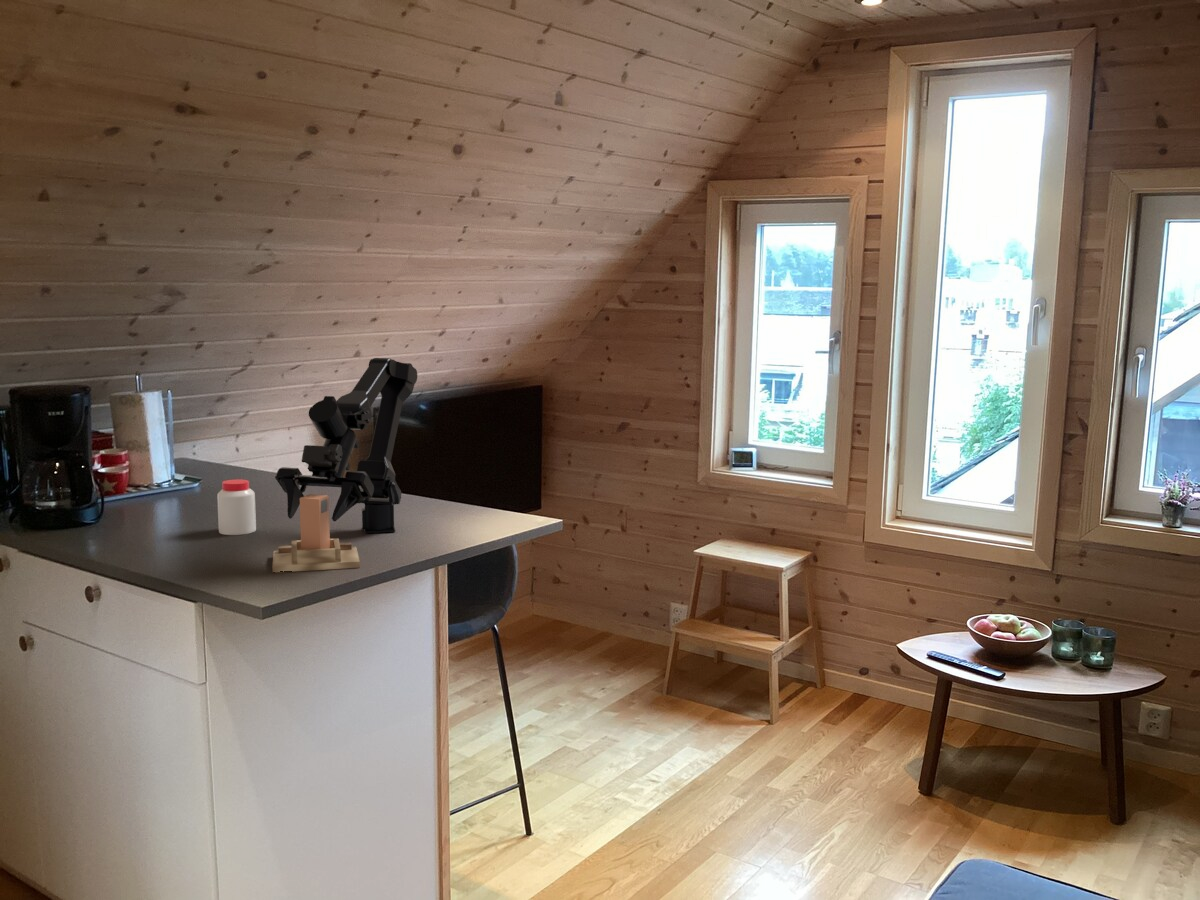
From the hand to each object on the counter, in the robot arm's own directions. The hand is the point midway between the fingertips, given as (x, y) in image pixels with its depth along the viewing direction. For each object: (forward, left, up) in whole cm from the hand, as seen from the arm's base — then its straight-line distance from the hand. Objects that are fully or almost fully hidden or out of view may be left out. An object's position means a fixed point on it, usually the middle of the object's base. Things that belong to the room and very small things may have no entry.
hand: (311, 518), depth 205 cm
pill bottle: (+15, -33, -9) cm, 38 cm away
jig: (-1, -2, -9) cm, 9 cm away
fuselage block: (-1, -1, -8) cm, 8 cm away
